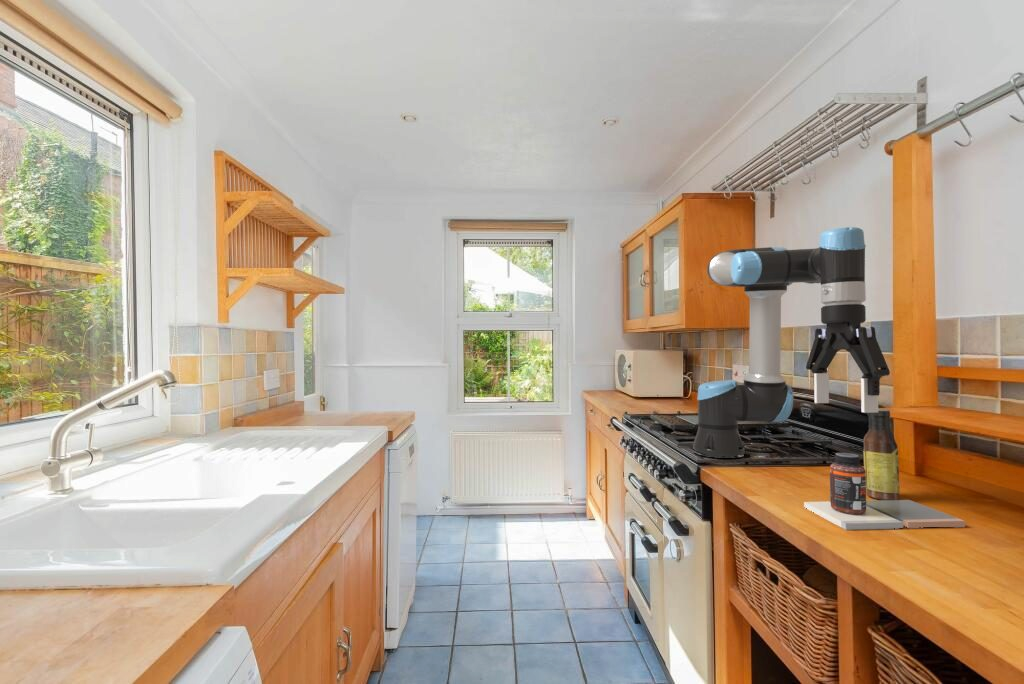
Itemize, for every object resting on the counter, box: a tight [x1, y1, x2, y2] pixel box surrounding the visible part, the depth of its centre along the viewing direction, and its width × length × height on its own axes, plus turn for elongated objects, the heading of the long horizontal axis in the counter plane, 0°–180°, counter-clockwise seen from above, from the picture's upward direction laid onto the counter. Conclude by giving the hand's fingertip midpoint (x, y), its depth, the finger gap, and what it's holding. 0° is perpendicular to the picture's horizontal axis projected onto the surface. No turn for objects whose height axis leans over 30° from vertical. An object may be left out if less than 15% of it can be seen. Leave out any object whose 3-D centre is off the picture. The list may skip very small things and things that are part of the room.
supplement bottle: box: [829, 452, 867, 514], centre depth 95 cm, size 6×6×11 cm
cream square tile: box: [803, 500, 904, 531], centre depth 95 cm, size 12×11×1 cm
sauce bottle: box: [862, 408, 901, 500], centre depth 107 cm, size 6×6×20 cm
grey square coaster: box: [866, 499, 966, 529], centre depth 95 cm, size 12×11×1 cm
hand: (844, 407), depth 97 cm, fingers open, 13 cm apart
